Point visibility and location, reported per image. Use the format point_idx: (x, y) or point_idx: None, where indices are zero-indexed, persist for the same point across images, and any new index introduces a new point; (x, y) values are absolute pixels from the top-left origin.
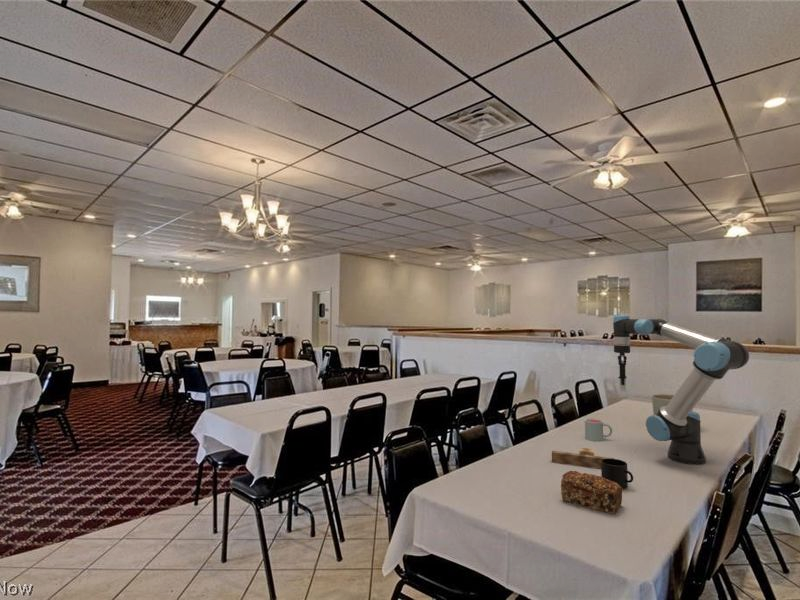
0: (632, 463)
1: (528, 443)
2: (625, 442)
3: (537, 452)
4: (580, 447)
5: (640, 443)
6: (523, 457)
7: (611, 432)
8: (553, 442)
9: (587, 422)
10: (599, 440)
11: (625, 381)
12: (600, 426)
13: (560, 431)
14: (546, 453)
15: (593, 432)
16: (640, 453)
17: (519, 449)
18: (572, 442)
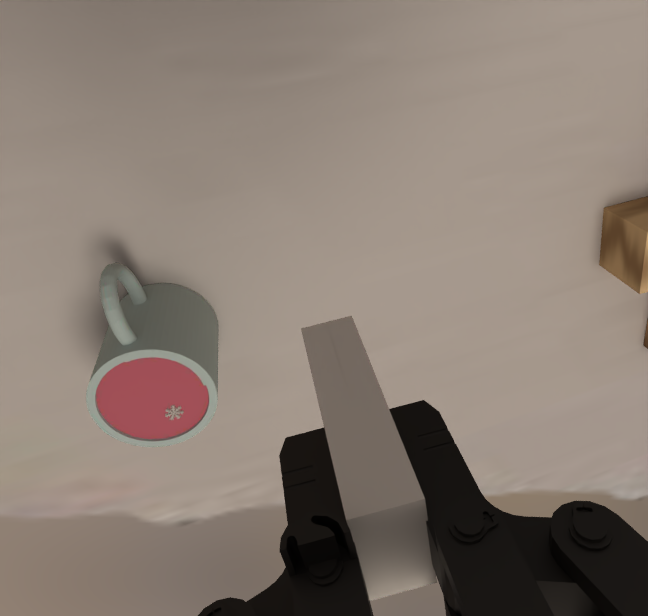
0: (555, 28)
1: None
2: (85, 163)
3: (559, 420)
4: (640, 291)
5: (20, 64)
6: (643, 426)
7: (118, 267)
8: None
9: (210, 416)
10: (196, 296)
11: (402, 445)
12: (182, 339)
13: (137, 490)
14: (558, 393)
15: (215, 347)
16: (305, 18)
17: (547, 474)
18: None
